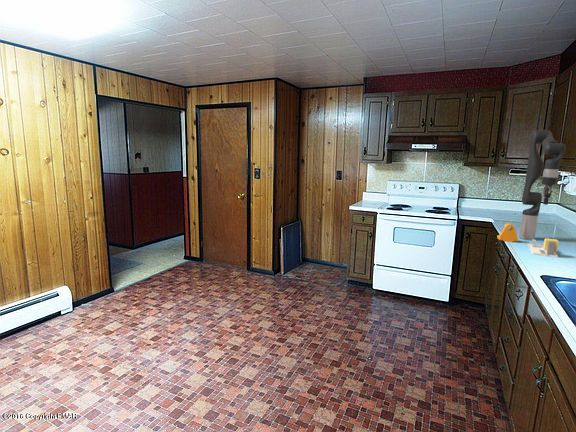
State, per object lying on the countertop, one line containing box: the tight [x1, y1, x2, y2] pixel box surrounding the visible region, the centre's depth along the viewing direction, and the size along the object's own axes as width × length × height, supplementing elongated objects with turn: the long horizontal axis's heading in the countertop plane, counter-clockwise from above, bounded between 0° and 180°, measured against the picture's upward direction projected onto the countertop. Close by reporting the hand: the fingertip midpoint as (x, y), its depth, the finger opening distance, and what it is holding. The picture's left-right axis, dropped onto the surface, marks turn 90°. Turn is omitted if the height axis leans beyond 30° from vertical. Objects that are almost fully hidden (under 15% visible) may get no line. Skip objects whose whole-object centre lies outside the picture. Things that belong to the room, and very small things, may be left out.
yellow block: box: [542, 238, 559, 253], centre depth 205 cm, size 5×6×6 cm
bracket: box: [497, 222, 519, 243], centre depth 238 cm, size 11×7×12 cm, turn 73°
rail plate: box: [527, 239, 559, 258], centre depth 213 cm, size 24×12×8 cm, turn 152°
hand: (545, 204), depth 215 cm, fingers closed
